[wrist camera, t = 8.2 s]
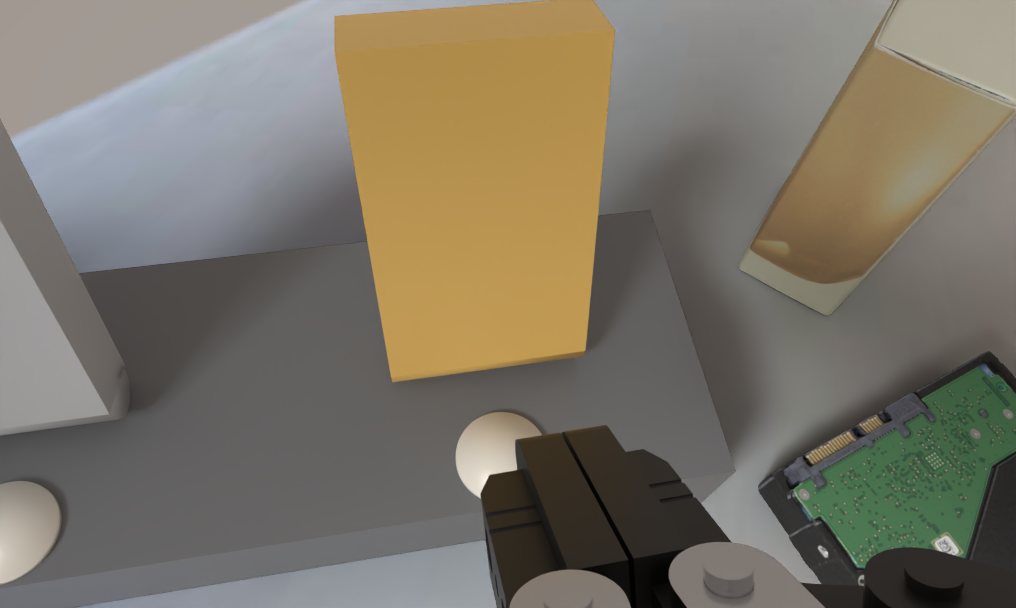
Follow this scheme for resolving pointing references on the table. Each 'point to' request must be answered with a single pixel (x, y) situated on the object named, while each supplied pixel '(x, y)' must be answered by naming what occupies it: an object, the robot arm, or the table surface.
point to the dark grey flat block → (322, 424)
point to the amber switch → (479, 176)
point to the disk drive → (910, 479)
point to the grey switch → (48, 321)
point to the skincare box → (889, 146)
